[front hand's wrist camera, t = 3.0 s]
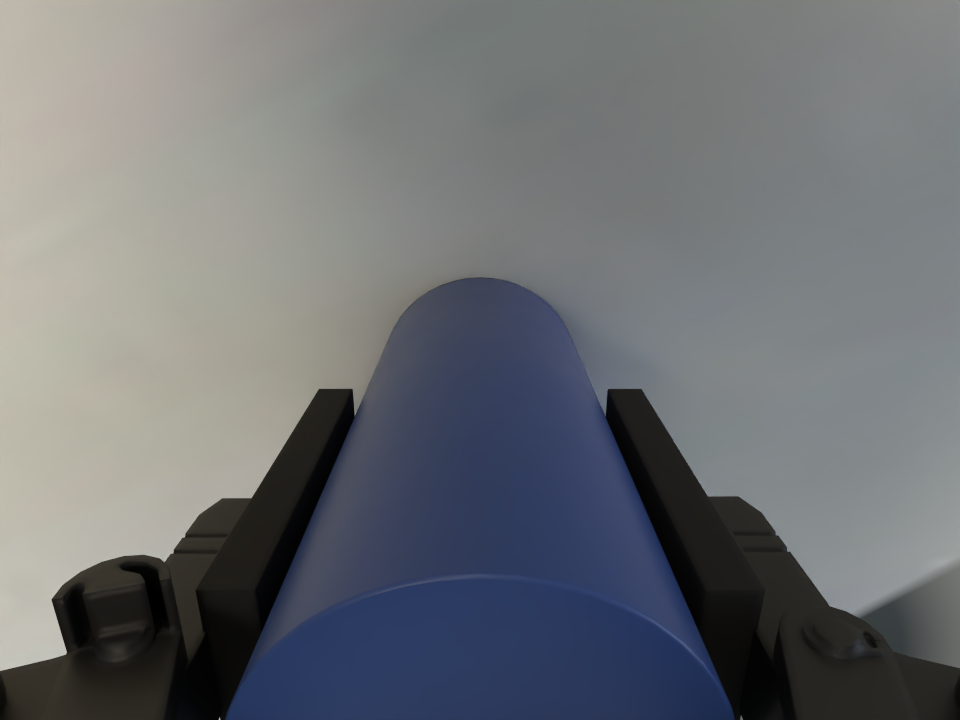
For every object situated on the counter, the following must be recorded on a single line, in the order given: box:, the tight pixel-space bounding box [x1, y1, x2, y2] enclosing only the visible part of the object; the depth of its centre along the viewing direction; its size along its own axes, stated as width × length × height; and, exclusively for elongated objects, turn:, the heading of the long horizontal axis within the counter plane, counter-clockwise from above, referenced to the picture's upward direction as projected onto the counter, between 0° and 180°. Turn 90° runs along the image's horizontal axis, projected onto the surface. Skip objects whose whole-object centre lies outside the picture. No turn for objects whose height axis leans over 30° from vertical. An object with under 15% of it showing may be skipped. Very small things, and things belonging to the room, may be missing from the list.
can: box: [225, 278, 735, 720], centre depth 13 cm, size 6×6×13 cm
